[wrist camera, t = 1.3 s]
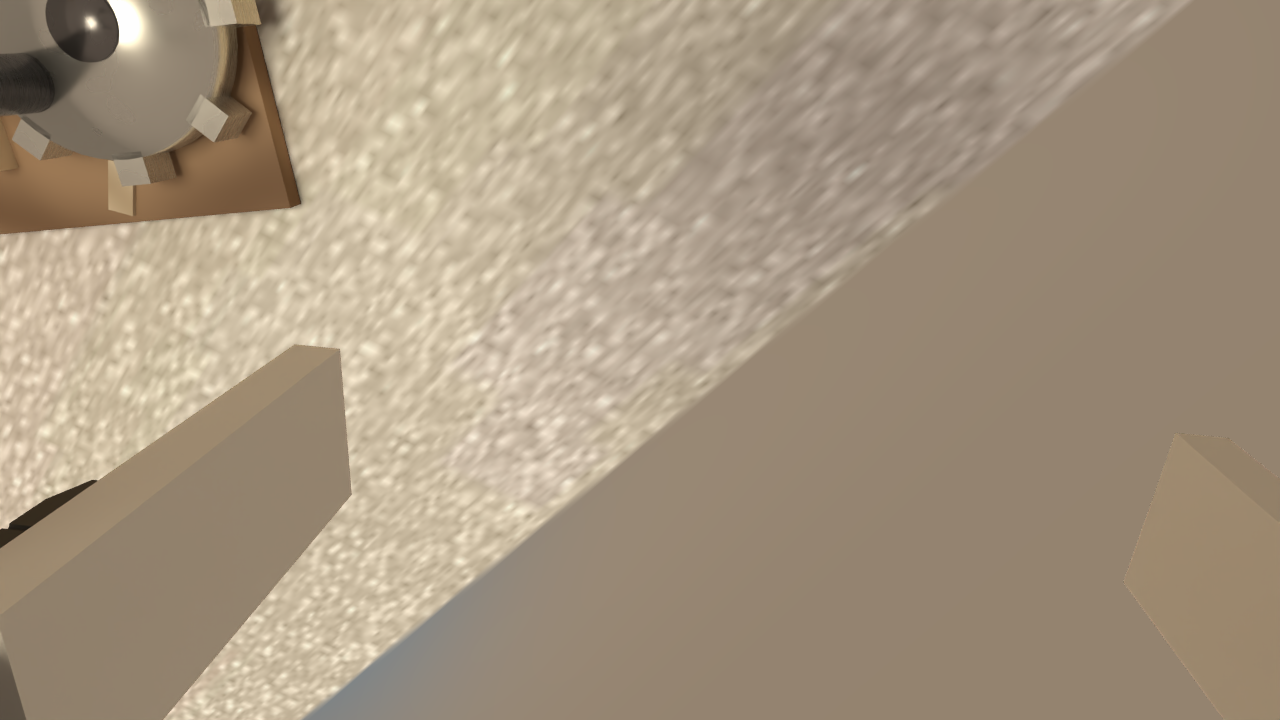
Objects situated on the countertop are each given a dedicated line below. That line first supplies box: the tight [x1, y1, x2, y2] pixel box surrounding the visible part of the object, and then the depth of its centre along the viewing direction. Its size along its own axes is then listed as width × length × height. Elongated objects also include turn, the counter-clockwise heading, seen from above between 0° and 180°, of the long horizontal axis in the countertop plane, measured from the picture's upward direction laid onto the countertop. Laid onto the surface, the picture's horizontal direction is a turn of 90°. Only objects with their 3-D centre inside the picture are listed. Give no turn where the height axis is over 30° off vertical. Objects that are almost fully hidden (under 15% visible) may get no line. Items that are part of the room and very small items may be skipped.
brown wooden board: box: [0, 25, 301, 234], centre depth 36 cm, size 15×22×2 cm
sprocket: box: [0, 0, 261, 186], centre depth 29 cm, size 13×13×12 cm
